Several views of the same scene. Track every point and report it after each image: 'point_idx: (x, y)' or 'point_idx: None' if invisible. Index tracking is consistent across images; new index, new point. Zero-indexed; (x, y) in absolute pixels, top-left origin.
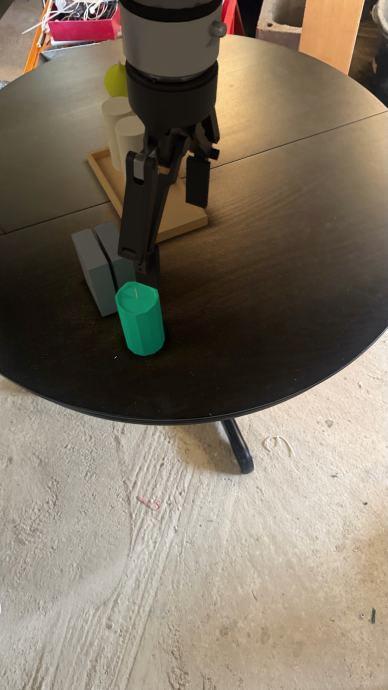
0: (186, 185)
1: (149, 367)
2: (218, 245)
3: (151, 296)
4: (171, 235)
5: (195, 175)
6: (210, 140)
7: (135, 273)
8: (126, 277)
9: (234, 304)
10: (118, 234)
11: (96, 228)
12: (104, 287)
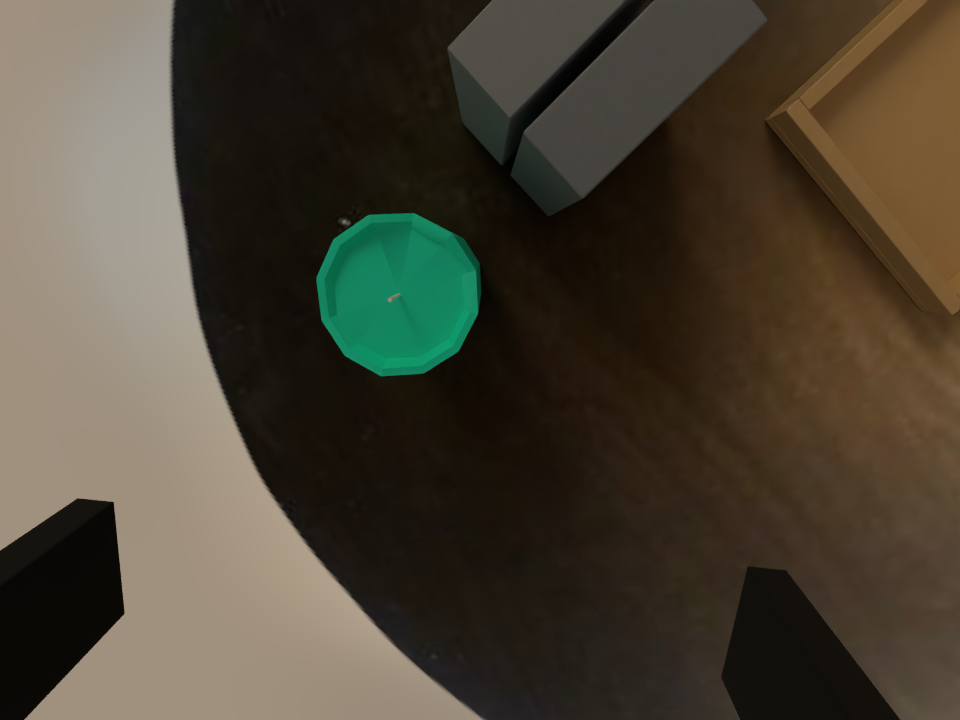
0: (819, 684)
1: None
2: (831, 371)
3: (424, 341)
4: (846, 212)
5: None
6: None
7: (13, 543)
8: (542, 180)
9: (613, 475)
10: (684, 89)
11: None
12: (481, 116)
